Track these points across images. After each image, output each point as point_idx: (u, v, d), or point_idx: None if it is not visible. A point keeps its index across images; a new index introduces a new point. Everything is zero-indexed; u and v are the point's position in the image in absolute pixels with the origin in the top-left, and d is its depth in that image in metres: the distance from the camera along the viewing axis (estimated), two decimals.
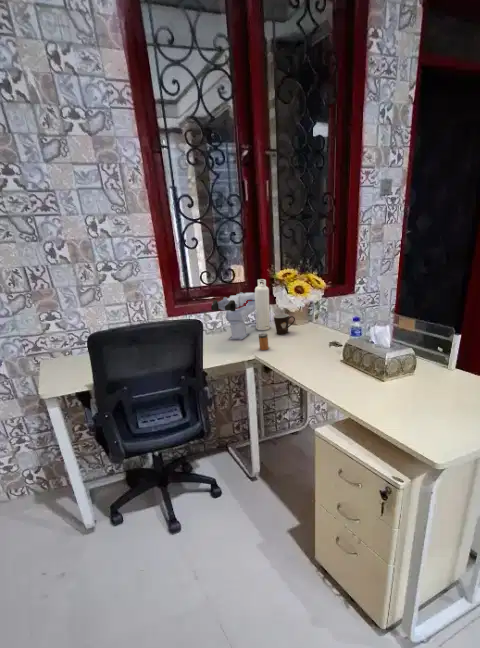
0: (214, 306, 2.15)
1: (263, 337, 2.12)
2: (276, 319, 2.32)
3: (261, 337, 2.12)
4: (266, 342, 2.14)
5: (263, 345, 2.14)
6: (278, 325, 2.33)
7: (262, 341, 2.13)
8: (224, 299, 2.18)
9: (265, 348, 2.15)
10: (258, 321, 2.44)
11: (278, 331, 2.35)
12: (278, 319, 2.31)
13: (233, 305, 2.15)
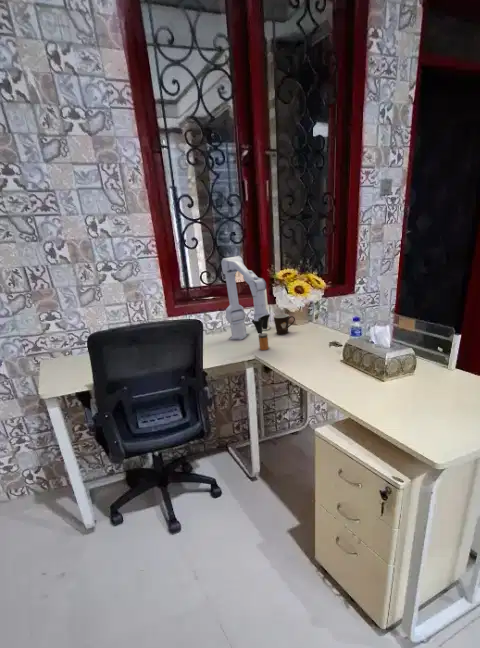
0: None
1: (263, 337, 2.12)
2: (276, 319, 2.32)
3: (261, 337, 2.12)
4: (266, 342, 2.14)
5: (263, 345, 2.14)
6: (278, 325, 2.33)
7: (262, 341, 2.13)
8: (266, 314, 2.07)
9: (265, 348, 2.15)
10: None
11: (278, 331, 2.35)
12: (278, 319, 2.31)
13: None
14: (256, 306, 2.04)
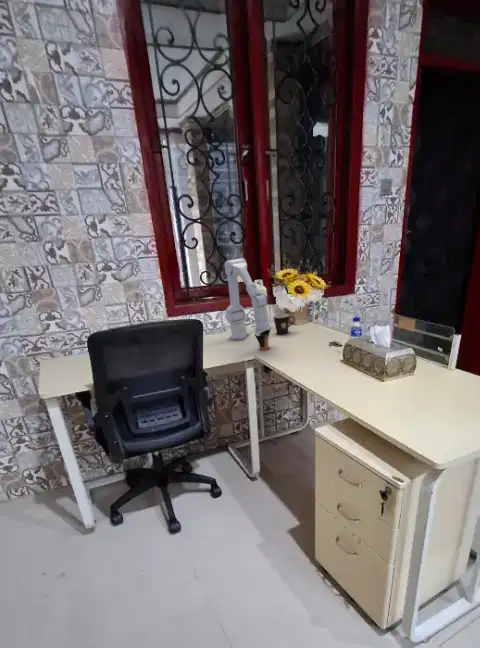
0: None
1: None
2: (276, 319, 2.32)
3: None
4: (266, 342, 2.14)
5: None
6: (278, 325, 2.33)
7: None
8: (267, 329, 2.11)
9: (265, 348, 2.15)
10: None
11: (278, 331, 2.35)
12: (278, 319, 2.31)
13: None
14: (258, 321, 2.08)
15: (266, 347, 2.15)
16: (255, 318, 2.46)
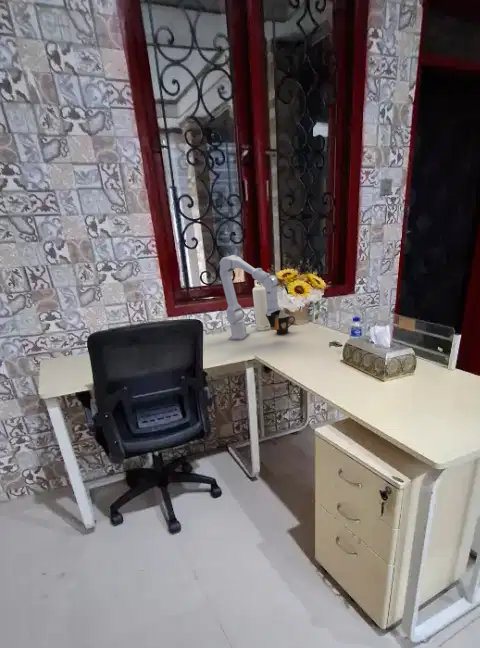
0: None
1: None
2: None
3: None
4: (276, 322, 2.21)
5: None
6: None
7: None
8: (277, 309, 2.18)
9: (275, 328, 2.22)
10: (258, 322, 2.45)
11: (278, 331, 2.35)
12: (278, 319, 2.31)
13: None
14: (268, 301, 2.15)
15: (276, 327, 2.22)
16: (255, 318, 2.46)
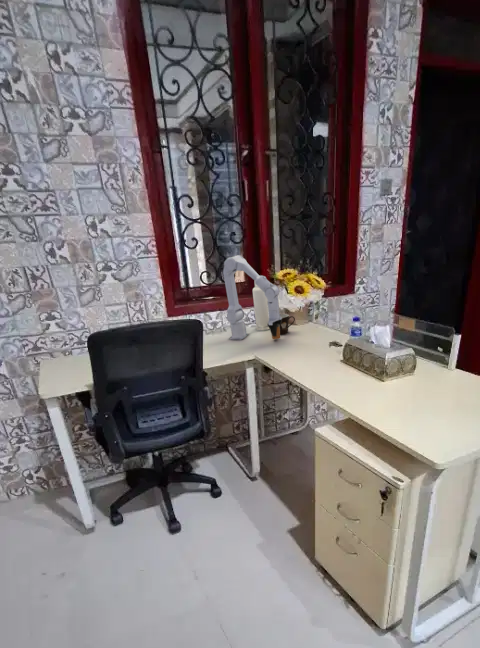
0: None
1: None
2: None
3: None
4: (278, 331, 2.24)
5: None
6: None
7: None
8: None
9: (277, 337, 2.25)
10: (258, 322, 2.45)
11: None
12: None
13: None
14: (270, 311, 2.18)
15: (278, 336, 2.25)
16: (255, 318, 2.46)
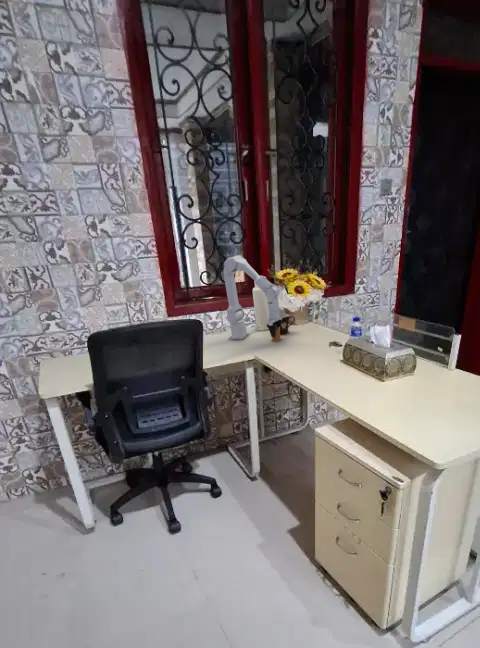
0: None
1: (276, 329, 2.23)
2: None
3: None
4: (278, 334, 2.25)
5: (275, 337, 2.25)
6: None
7: None
8: (279, 319, 2.21)
9: (277, 339, 2.26)
10: (258, 322, 2.45)
11: None
12: None
13: None
14: (270, 311, 2.18)
15: (278, 339, 2.26)
16: (255, 318, 2.46)
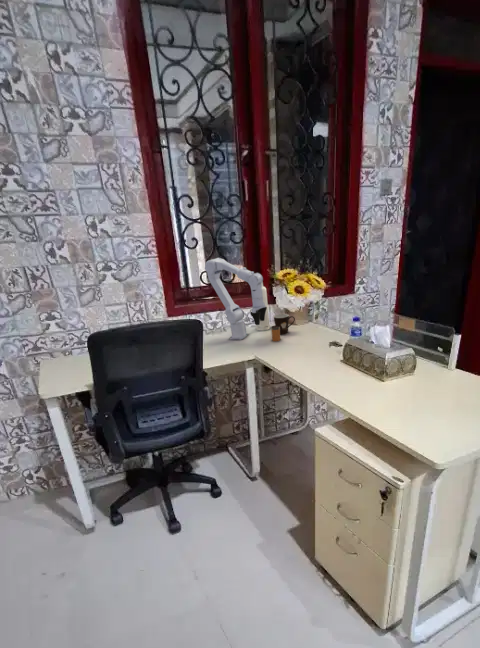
0: None
1: (276, 329, 2.23)
2: (276, 319, 2.32)
3: (274, 329, 2.23)
4: (278, 334, 2.25)
5: (275, 337, 2.25)
6: (278, 325, 2.33)
7: (274, 333, 2.24)
8: None
9: (277, 339, 2.26)
10: None
11: None
12: (278, 319, 2.31)
13: None
14: (254, 299, 2.19)
15: (278, 339, 2.26)
16: None
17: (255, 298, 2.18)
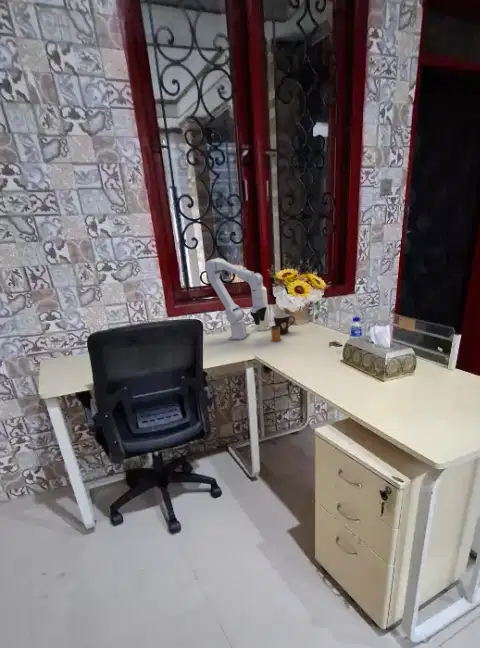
0: None
1: (276, 329, 2.23)
2: (276, 319, 2.32)
3: (274, 329, 2.23)
4: (278, 334, 2.25)
5: (275, 337, 2.25)
6: (278, 325, 2.33)
7: (274, 333, 2.24)
8: None
9: (277, 339, 2.26)
10: None
11: None
12: (278, 319, 2.31)
13: None
14: (254, 299, 2.19)
15: (278, 339, 2.26)
16: None
17: (255, 298, 2.18)
